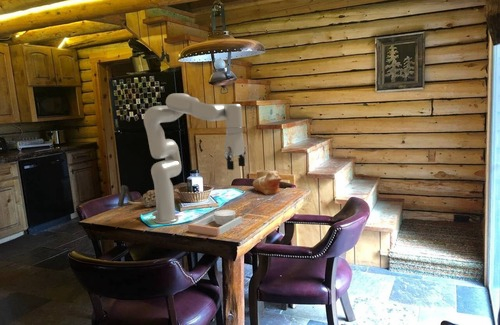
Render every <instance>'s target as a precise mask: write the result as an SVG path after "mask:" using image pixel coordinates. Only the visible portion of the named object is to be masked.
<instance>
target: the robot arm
mask: <svg viewBox="0 0 500 325" xmlns="http://www.w3.org/2000/svg"><path fill="white" fill-rule="evenodd" d="M165 104H166V105H154V106H151V107H149V108H148V109H146V110H145V112H144V115H143V125H144V128H145V131H146V135H147V140H148V145H149V151H150V155H151V157H152V158H153V159H155V160H161V159H164V160H161V161H158V162H157V161H156V163H153V165H152V166H151V169H150V172H151V173H150V174H151V178H152V181H153V185H154V190H155V199H156V205H155V207H156V208H155V210H154V211H153V212H152V213H151V215H152V216H154V220H153V222H154V223H155V224H161V225H163V224H164V225H166V224H172V223H175V222H177V221H178V220H179V216H178V215H176V206H175V195H174V194H175V193H174V192H175V191H174V185H173V183H172V180H171V178H174V177H177V176H179V175H180V174H181V172H182V161H181V156H180V151H179V150H180V148H179V146H178V144H177V143H176V141H175V140H173V139H170V138H166V136H165V131H164V129H163V127H162V125H161V123H171V122H175V121H176V120H178V119H179V118H181V117H182V116H183V115H184V114H187V115H191V117H194V118H196V119H200V120H203V121H204V120H205V121H206V122H207V121H208V122H216V121H217V122H218V121H219V122H220V121H225V129H226V130H225V132H226V135H225V141H224V149H225V150H224V152H223V155H224V158H225V159H226V160H225V161H226V166H227V168H226V169H227V170H229V171H234V169H235V164H234V158H235V157H237V156H238V158H237V160H238V167H246V163H245V162H246V160H245V159H246V151H247V148H246V147H245V142H244V135H243V134H244V133H243V132H244V131H243V113H242V112H243V111H242V105H241V104H239V103H229V104H224V103H216V104H215V103H214V104H213V103H212V104H209V103H206V102H201V101H200V100H199V98H198V97H194V96H191V95H189V94H188V93H181V92H180V93H177V92H176V93H171V94H168V96H167V97H166V99H165Z"/></svg>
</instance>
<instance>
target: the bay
mask: <svg viewBox="0 0 500 325" xmlns="http://www.w3.org/2000/svg"><path fill="white" fill-rule="evenodd" d="M214 221H215V218H214V213H212V214H210V215H207V216H205V217H203V218H202V219H199V220H196V221H195V222H193V223H188V224H187V228H188V229H187V230H188V232H189V233H195V234H202V235H209V236H214V237H220V236H221V235H222V234H224V233H226V232H228V231H229V230H230V231H231V229H234V228H235V227H237V226H239V225H241V224H243V216H240V215H239V216H238V217H235V219H234V220H232V221H230V222H228V223H226V224H224V225H219V227H215V226H208V224H210V223H212V222H214Z"/></svg>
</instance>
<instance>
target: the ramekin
mask: <svg viewBox="0 0 500 325" xmlns="http://www.w3.org/2000/svg"><path fill="white" fill-rule="evenodd" d="M213 214H214V218H215V220H214V221H215V224H217V225H219V226H222V225H224V224H226V223H228V222H230V221H232V220H234V219H236V211H235V210H233V209H220V210H216V211H214V212H213Z"/></svg>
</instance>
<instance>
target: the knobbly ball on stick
mask: <svg viewBox="0 0 500 325" xmlns="http://www.w3.org/2000/svg"><path fill="white" fill-rule="evenodd" d="M140 200H141V201H134V202H131V201H128V200H126V203H129V204H133V205H143V206H144V207H145V208H151V207H152V206H153V207H155V206H156V199H155V189H152V190H148V191H146V193H144V194H143V195H142V196H141V198H140Z"/></svg>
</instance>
